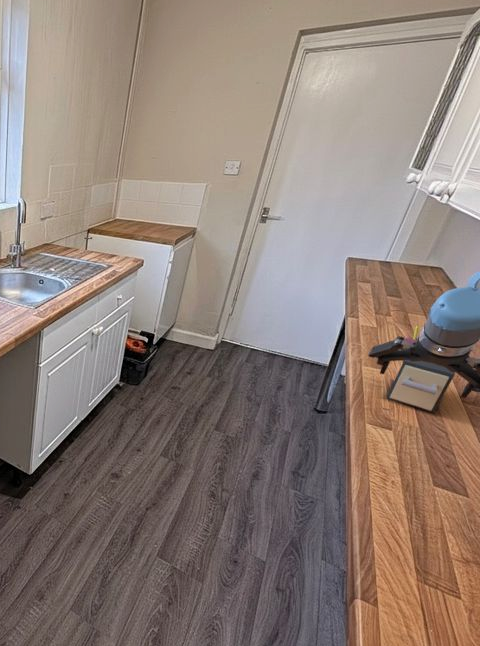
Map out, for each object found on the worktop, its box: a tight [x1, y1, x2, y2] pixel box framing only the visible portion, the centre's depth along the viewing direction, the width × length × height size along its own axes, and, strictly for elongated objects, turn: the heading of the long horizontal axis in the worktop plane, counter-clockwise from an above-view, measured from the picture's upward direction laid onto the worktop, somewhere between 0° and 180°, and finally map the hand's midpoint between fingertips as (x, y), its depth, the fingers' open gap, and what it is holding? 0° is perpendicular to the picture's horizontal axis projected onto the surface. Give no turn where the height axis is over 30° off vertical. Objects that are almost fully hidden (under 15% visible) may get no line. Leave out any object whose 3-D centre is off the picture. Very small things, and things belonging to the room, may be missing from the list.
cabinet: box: [386, 360, 456, 414], centre depth 112 cm, size 15×9×12 cm, turn 129°
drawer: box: [390, 365, 449, 411], centre depth 109 cm, size 18×8×10 cm, turn 129°
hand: (422, 380), depth 98 cm, fingers open, 13 cm apart
